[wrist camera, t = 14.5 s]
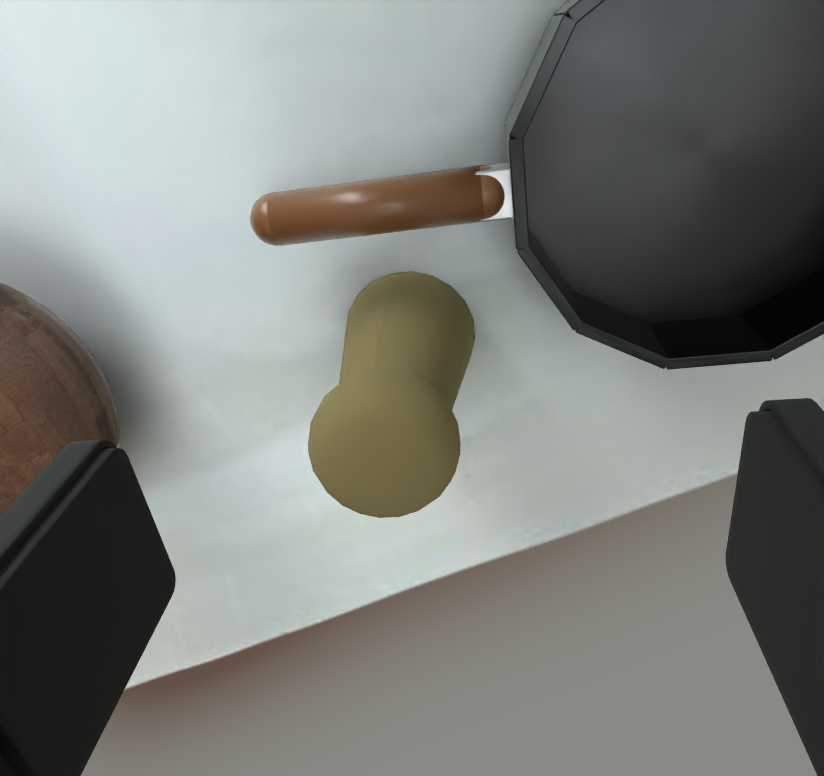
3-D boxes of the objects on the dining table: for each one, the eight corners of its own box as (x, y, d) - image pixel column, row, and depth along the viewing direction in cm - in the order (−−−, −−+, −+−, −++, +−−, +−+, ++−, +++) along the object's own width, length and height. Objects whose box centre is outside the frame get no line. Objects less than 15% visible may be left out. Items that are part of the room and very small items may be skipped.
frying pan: (310, 359, 32) (288, 401, 28) (226, 7, 25) (183, 3, 21) (872, 307, 28) (929, 348, 25) (956, -123, 21) (1052, -153, 18)
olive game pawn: (470, 394, 32) (465, 552, 22) (347, 386, 32) (291, 538, 23) (480, 275, 29) (479, 398, 20) (344, 268, 30) (278, 385, 20)
